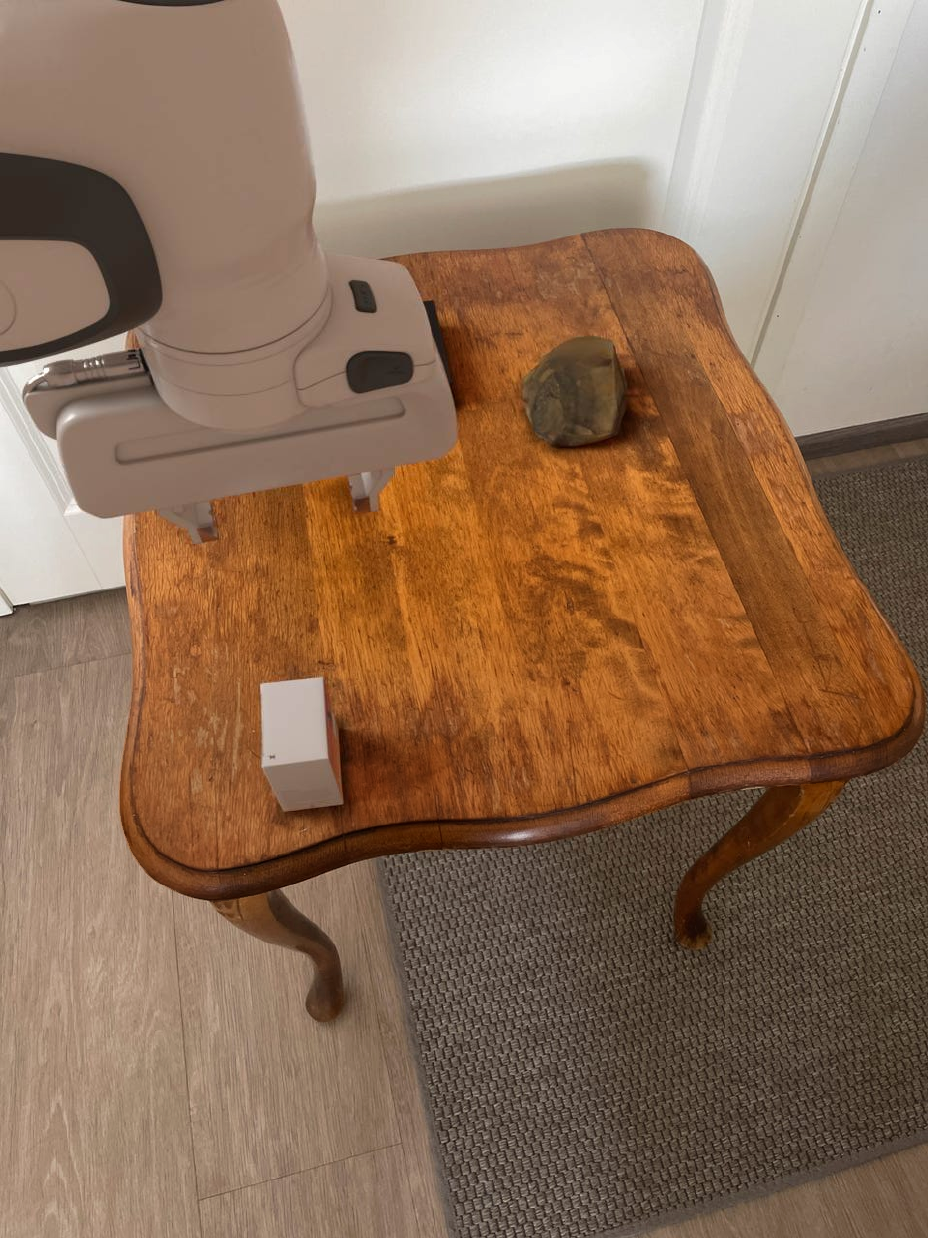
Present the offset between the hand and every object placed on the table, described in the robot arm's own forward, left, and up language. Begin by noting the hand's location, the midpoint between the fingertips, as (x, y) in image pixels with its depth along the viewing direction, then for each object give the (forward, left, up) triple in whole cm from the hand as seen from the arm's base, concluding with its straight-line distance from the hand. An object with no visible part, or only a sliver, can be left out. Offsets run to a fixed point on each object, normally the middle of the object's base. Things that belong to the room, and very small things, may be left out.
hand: (286, 518), depth 54 cm
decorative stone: (+25, +22, -17) cm, 37 cm away
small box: (-1, -9, -17) cm, 19 cm away
